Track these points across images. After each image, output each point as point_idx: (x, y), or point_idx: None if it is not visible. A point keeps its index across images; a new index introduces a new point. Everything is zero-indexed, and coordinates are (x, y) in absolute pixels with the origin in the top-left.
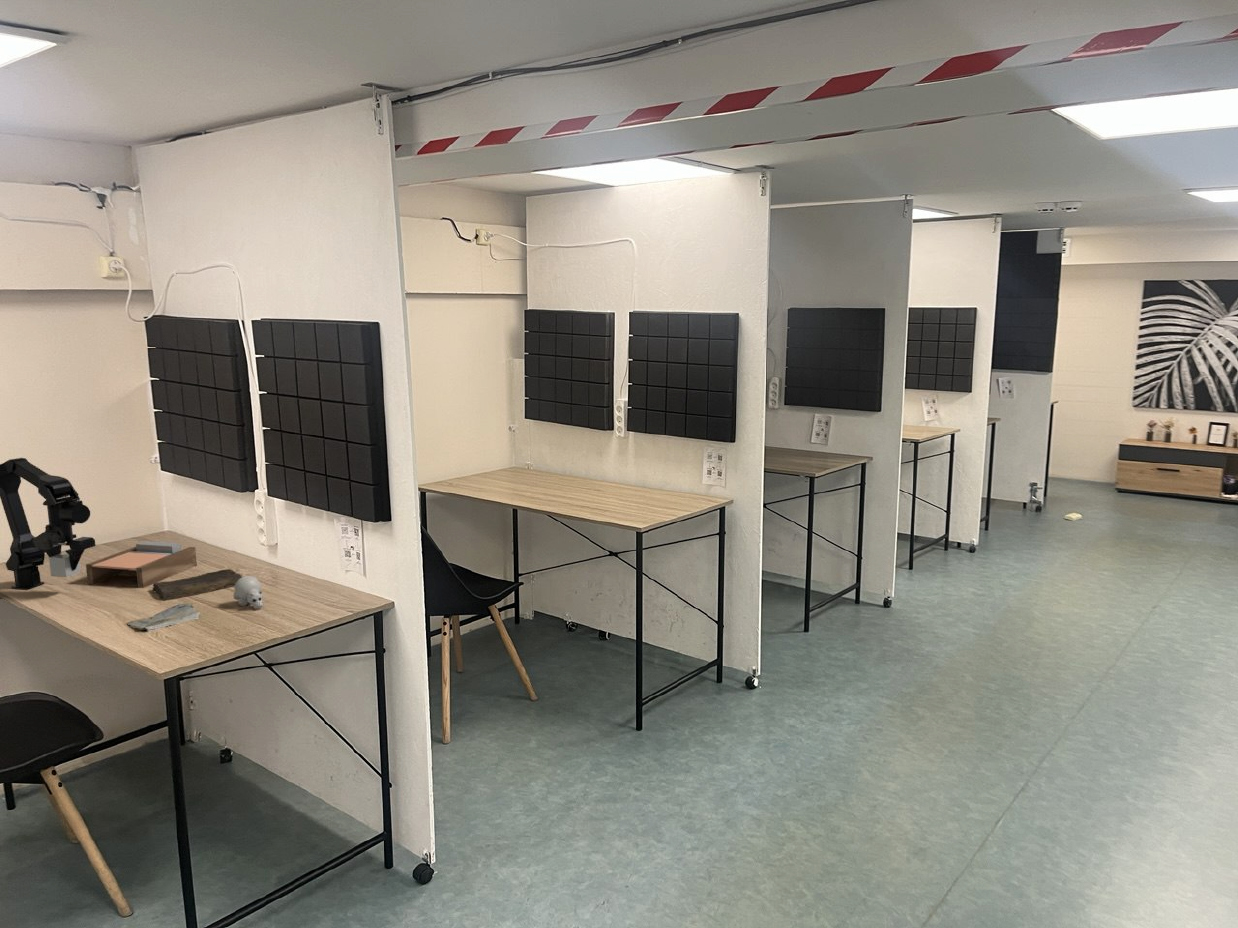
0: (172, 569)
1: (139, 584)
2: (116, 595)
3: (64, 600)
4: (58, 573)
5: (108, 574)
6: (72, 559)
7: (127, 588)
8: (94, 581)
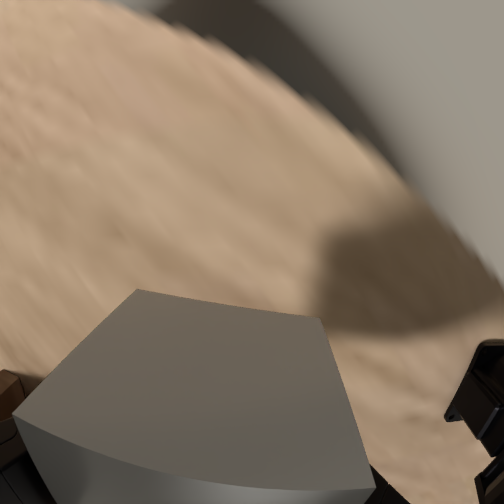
0: None
1: (6, 380)
2: (7, 284)
3: (173, 189)
4: (222, 321)
5: None
6: (5, 422)
7: (38, 371)
8: None
